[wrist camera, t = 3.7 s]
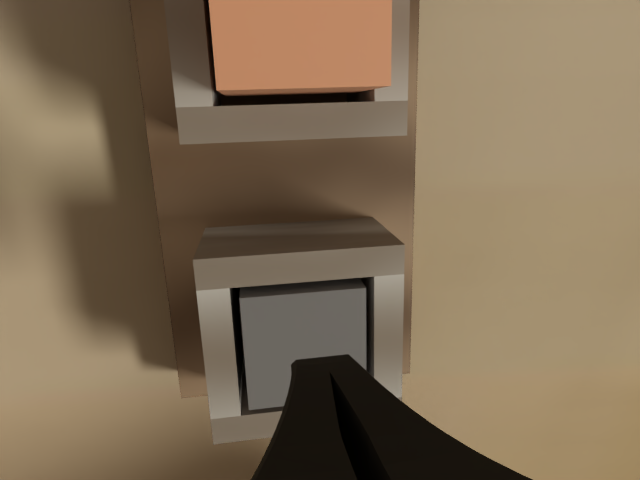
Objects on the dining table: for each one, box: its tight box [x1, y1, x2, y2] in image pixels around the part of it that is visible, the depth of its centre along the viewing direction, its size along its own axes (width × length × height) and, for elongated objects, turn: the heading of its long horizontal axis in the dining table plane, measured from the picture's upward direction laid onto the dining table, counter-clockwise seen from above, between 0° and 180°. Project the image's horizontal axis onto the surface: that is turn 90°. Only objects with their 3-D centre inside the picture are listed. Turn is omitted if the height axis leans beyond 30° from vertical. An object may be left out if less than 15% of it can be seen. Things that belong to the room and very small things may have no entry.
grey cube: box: [239, 278, 366, 410], centre depth 17 cm, size 4×4×4 cm
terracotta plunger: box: [209, 0, 392, 96], centre depth 12 cm, size 4×4×4 cm
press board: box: [130, 0, 419, 445], centre depth 17 cm, size 18×10×6 cm, turn 2°
